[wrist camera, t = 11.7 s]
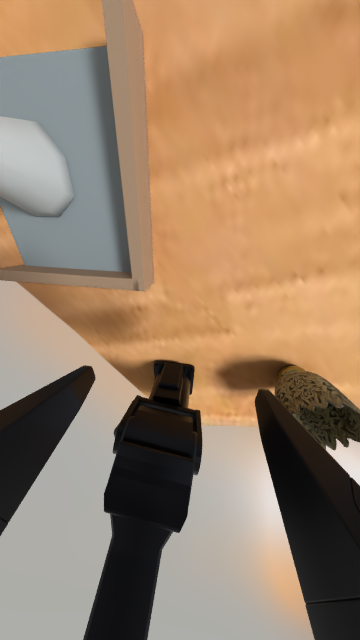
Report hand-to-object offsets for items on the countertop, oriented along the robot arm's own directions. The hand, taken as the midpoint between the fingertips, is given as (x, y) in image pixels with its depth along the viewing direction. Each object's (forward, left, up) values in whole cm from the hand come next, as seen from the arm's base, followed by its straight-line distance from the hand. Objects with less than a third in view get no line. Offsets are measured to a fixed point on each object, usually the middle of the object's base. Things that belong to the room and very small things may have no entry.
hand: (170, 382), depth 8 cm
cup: (-10, -15, -13) cm, 22 cm away
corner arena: (+11, +14, -13) cm, 22 cm away
